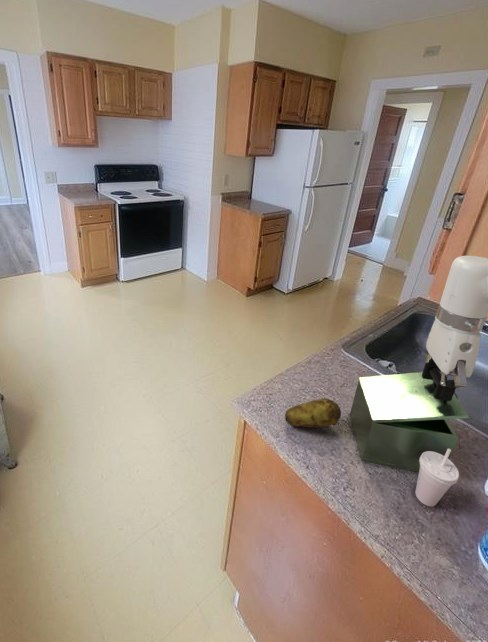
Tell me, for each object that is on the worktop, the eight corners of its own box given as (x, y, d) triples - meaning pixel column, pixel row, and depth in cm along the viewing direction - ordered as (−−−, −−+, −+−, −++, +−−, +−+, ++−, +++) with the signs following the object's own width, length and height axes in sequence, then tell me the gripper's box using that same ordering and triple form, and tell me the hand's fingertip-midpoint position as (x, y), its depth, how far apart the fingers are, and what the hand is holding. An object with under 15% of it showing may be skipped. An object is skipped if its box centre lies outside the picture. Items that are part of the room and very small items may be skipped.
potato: (287, 405, 89) (291, 382, 86) (337, 420, 84) (343, 397, 81) (282, 428, 82) (286, 404, 79) (336, 446, 77) (342, 422, 74)
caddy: (417, 426, 83) (430, 391, 79) (441, 476, 71) (458, 438, 66) (349, 414, 86) (358, 380, 82) (361, 460, 74) (372, 422, 70)
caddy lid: (438, 373, 77) (436, 354, 75) (468, 418, 64) (467, 397, 63) (359, 379, 82) (356, 362, 80) (373, 422, 70) (370, 403, 68)
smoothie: (451, 514, 64) (476, 466, 58) (419, 513, 64) (440, 465, 59) (431, 482, 70) (451, 435, 64) (401, 481, 70) (419, 434, 64)
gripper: (509, 344, 56) (476, 422, 62) (459, 299, 71) (437, 366, 78) (460, 339, 57) (433, 416, 64) (421, 296, 73) (403, 361, 79)
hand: (435, 387), depth 71 cm, fingers closed on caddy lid, 5 cm apart
